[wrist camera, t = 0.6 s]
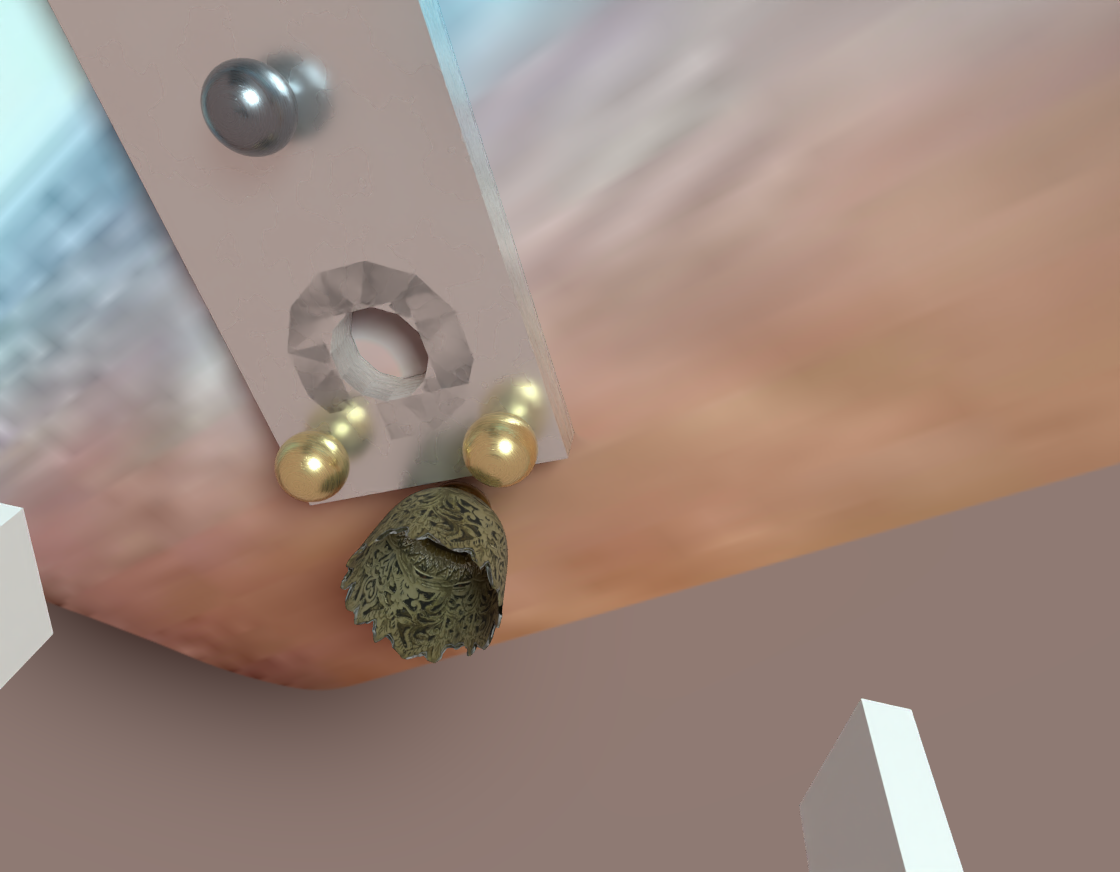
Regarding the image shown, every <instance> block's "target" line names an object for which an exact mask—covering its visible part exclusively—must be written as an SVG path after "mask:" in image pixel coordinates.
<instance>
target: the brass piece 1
mask: <svg viewBox="0 0 1120 872" xmlns="http://www.w3.org/2000/svg"><path fill="white" fill-rule="evenodd" d="M349 471H350V461H349V456H348V453H347V451H346V449H345V447H344V446H343V445H342V443H341V442H340V441H339V440H338V439H336V438H335V437H334V436H332V435H330V434H328V433H325V432H322V431H315V430H310V431H303V432H300V433H297V434H295V435H293V436H292V437H290V438H289V439H288V440H286V441H285V442H284V443H283V445H282V446H281V447H280V449H279V451H278V453H277V455H276V459H275V475H276V478H277V481H278V483H279V484H280V486H281V487H282V489H283V490H284V491H285V492H286V493H287V494H289V495H290V496H291V497H293V498H295V499H298V500H300V501H304V502H319V501H323V500H326V499H328V498H330V497H332V496H334V495H335V494H336V493H338V492H339V491H340V490H341V488H342V487H343V486H344V484H345V483H346V481H347V478H348V475H349Z"/></svg>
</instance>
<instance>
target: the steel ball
mask: <svg viewBox="0 0 1120 872" xmlns="http://www.w3.org/2000/svg"><path fill="white" fill-rule="evenodd" d="M200 104H201V111H202V115H203V118H204V120H205V123H206V125H207V127H208V129H209V130H210V132H211V133H212V134H213V135H214V137H215V138H216V139H217V140H218V141H219V142H220V143H221V144H223V145H224V146H225V147H227V148H228V149H230V150H232V151H234V152H236V153H238V154H241V155H244V156H249V157H264V156H268V155H272V154H274V153H276V152H278V151H280V150H281V149H283V148H284V147H285V146H286V145H287V144H288V143H289V142H290V141H291V139H292V138H293V136H294V134H295V132H296V129H297V125H298V120H299V110H298V104H297V100H296V97H295V94H294V92H293V90H292V88H291V86H290V85H289V83H288V82H287V81H286V79H285V78H284V77H283V76H282V75H281V74H280V73H279V72H278V71H277V70H275V69H274V68H272V67H271V66H269V65H268V64H266V63H264V62H261V61H258V60H255V59H250V58H234V59H231V60H227V61H225V62H222V63H221V64H219V65H218V66H216V67H215V68H214V69H213V70H212V71H211V72H210V73H209V75H208V76H207V77H206V79H205V81H204V83H203V86H202V90H201V97H200Z"/></svg>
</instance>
